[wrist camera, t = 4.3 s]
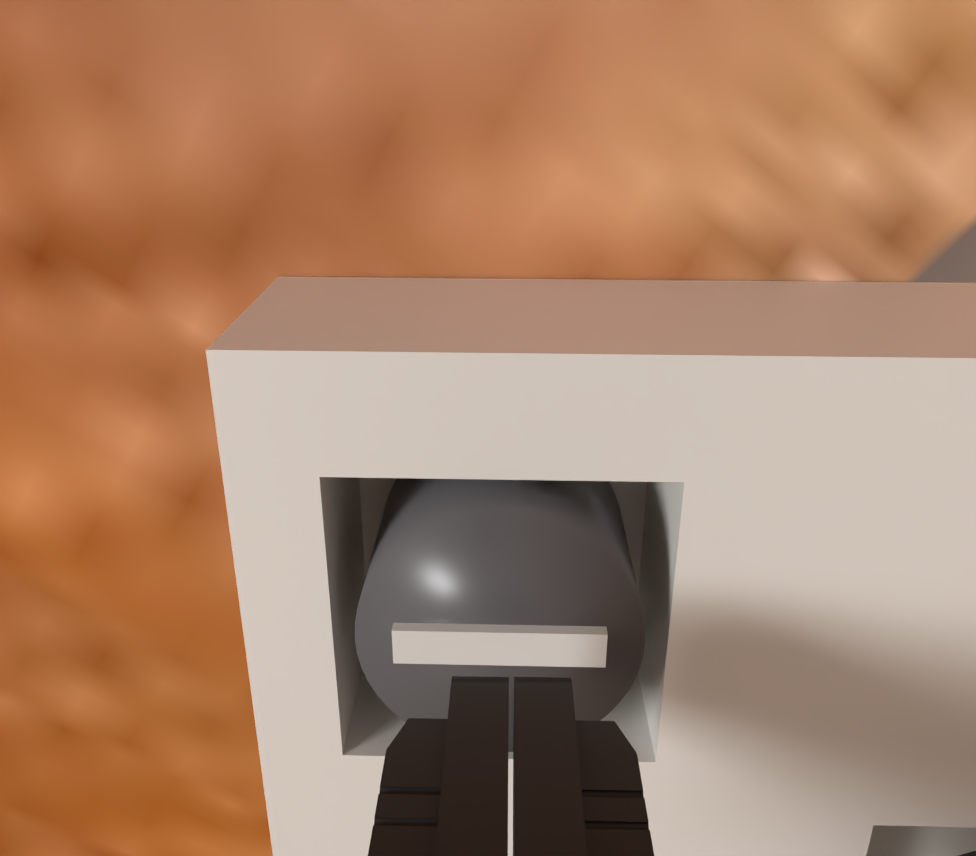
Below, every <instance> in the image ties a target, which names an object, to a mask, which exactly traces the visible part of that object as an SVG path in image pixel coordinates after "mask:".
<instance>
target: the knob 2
mask: <svg viewBox="0 0 976 856" xmlns="http://www.w3.org/2000/svg"><path fill="white" fill-rule="evenodd" d="M958 856H976V851H972V852H969V853H965V854H962V855H958Z"/></svg>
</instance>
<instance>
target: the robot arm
mask: <svg viewBox="0 0 976 856" xmlns="http://www.w3.org/2000/svg"><path fill="white" fill-rule="evenodd" d="M508 735H509V677H503V676H452V680H451V689H450V699H449V710H448V719H431V718H408V720H407V721H406V723H405V724H404V725H403V727H402V728H401V730H400V731H399V732H398V734H397V735H396V737H395V738H394V739H393V741H392V742H391V744H390V745H389V746H388V748H387V749H386V754H385V760H384V765H383V771H382V777H381V783H380V793H379V794H378V800H377V805H376V811H375V817H374V825H373V828H372V834H371V840H370V846H369V851H368V856H508ZM648 823H649V822H648V816H647V810H646V804H645V798H644V797H643V786H642V780H641V774H640V768H639V762H638V756H637V753H636V751H635V750H634V748H633V747H632V745H631V744H630V743H629V741H628V740H627V738H626V737H625V735H624V734H623V732H622V731H621V730H620V728H619V727H618V725H617V724H616V722H615V721H584V720H575V711H574V699H573V688H572V680H571V677H523V676H514V729H513V856H654V851H653V845H652V839H651V833H650V830H649V825H648Z"/></svg>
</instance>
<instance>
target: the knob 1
mask: <svg viewBox="0 0 976 856" xmlns="http://www.w3.org/2000/svg"><path fill="white" fill-rule="evenodd" d="M355 643H356V650H357V655H358V658H359V661H360V665H361V668H362V670H363V672H364V674H365V676H366V678H367V680H368V682H369V684H370V685H371V687H372V688H373V690H374V691H375V693H376V694H377V696H378V697H379V698H380V699H381V700H382V702H383V703H384V704H385V705H386V706H387V707H388V708H389V709H390V710H391V711H392V712H393V713H394V714H396V715H397V716H398V717H399V718H400V719H401V720H403V721H404V722H406V721H407V720H408V718H431V719H448V710H449V699H450V689H451V680H452V676H503V677H509V735H508V752H513V729H514V676H523V677H571V680H572V688H573V699H574V711H575V720H584V721H600V720H602V719H603V718H604V717H605V716H606V715H608V714H609V713H610V712H611V711H612V710H613V709H614V708H615V707H616V706H617V705H618V704H619V703H620V701H621V700H622V699H623V697H624V696H625V695H626V693H627V692H628V690H629V689H630V688H631V686H632V684H633V682H634V680H635V678H636V676H637V674H638V671H639V668H640V665H641V662H642V659H643V654H644V648H645V622H644V616H643V610H642V606H641V601H640V597H639V592H638V588H637V583H636V579H635V574H634V570H633V565H632V561H631V557H630V552H629V548H628V543H627V539H626V534H625V530H624V525H623V521H622V516H621V512H620V507H619V504H618V501H617V498H616V495H615V492H614V490H613V488H612V486H611V484H610V482H609V481H559V480H489V479H419V478H397V479H396V481H395V483H394V485H393V487H392V489H391V490H390V493H389V496H388V499H387V502H386V505H385V509H384V513H383V516H382V520H381V524H380V527H379V531H378V535H377V538H376V542H375V545H374V549H373V553H372V556H371V560H370V564H369V567H368V571H367V574H366V578H365V582H364V585H363V589H362V593H361V596H360V600H359V604H358V607H357V613H356V619H355Z"/></svg>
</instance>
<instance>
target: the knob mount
mask: <svg viewBox="0 0 976 856" xmlns="http://www.w3.org/2000/svg"><path fill="white" fill-rule="evenodd" d="M206 356H207V364H208V371H209V379H210V386H211V394H212V401H213V409H214V416H215V424H216V431H217V439H218V446H219V454H220V461H221V469H222V476H223V484H224V491H225V499H226V506H227V514H228V521H229V529H230V537H231V544H232V552H233V559H234V567H235V574H236V582H237V589H238V597H239V604H240V612H241V619H242V627H243V634H244V642H245V649H246V657H247V664H248V672H249V679H250V687H251V694H252V702H253V709H254V717H255V724H256V732H257V739H258V747H259V755H260V762H261V770H262V777H263V785H264V792H265V800H266V807H267V815H268V822H269V830H270V837H271V845H272V852H273V856H368V851H369V846H370V840H371V834H372V828H373V825H374V817H375V811H376V805H377V800H378V794H379V793H380V783H381V777H382V771H383V765H384V760H385V754H386V749H387V748H388V746H389V745H390V744H391V742H392V741H393V739H394V738H395V737H396V735H397V734H398V732H399V731H400V730H401V728H402V727H403V725H404V724H405V723H406V722H404V721H403V720H401V719H400V718H399V717H398V716H397V715H396V714H394V713H393V712H392V711H391V710H390V709H389V708H388V707H387V706H386V705H385V704H384V703H383V702H382V700H381V699H380V698H379V697H378V696H377V694H376V693H375V691H374V690H373V688H372V687H371V685H370V684H369V682H368V680H367V678H366V676H365V674H364V672H363V670H362V668H361V665H360V661H359V658H358V655H357V650H356V643H355V619H356V613H357V607H358V604H359V600H360V596H361V593H362V589H363V585H364V582H365V578H366V574H367V571H368V567H369V564H370V560H371V556H372V553H373V549H374V545H375V542H376V538H377V535H378V531H379V527H380V524H381V520H382V516H383V513H384V509H385V505H386V502H387V499H388V496H389V493H390V490H391V489H392V487H393V485H394V483H395V481H396V479H397V478H419V479H489V480H559V481H609V482H610V484H611V486H612V488H613V490H614V492H615V495H616V498H617V501H618V504H619V507H620V512H621V516H622V521H623V525H624V530H625V534H626V539H627V543H628V548H629V552H630V557H631V561H632V565H633V570H634V574H635V579H636V583H637V588H638V592H639V597H640V601H641V606H642V610H643V616H644V622H645V648H644V654H643V659H642V662H641V665H640V668H639V671H638V674H637V676H636V678H635V680H634V682H633V684H632V686H631V688H630V689H629V690H628V692H627V693H626V695H625V696H624V697H623V699H622V700H621V701H620V703H619V704H618V705H617V706H616V707H615V708H614V709H613V710H612V711H611V712H610V713H609V714H608V715H606V716H605V717H604V718H603V719H602V720H600V721H615V722H616V724H617V725H618V727H619V728H620V730H621V731H622V732H623V734H624V735H625V737H626V738H627V740H628V741H629V743H630V744H631V745H632V747H633V748H634V750H635V751H636V753H637V756H638V762H639V768H640V774H641V780H642V786H643V797H644V798H645V804H646V810H647V816H648V822H649V823H648V825H649V830H650V833H651V839H652V845H653V851H654V856H958V855H962V854H965V853H969V852H972V851H976V283H937V282H936V283H935V282H929V283H928V282H825V281H713V280H601V279H488V278H376V277H277V278H276V279H275V280H274V281H273V282H272V283H271V284H270V285H269V286H268V287H267V288H266V289H265V290H264V291H263V292H262V293H261V294H260V295H259V296H258V297H257V298H256V299H255V300H254V301H253V302H252V303H251V304H250V306H249V307H248V308H247V309H246V310H245V311H244V312H243V313H242V314H241V315H240V316H239V317H238V318H237V319H236V320H235V321H234V322H233V323H232V324H231V325H230V326H229V327H228V328H227V329H226V330H225V331H224V332H223V333H222V334H221V335H220V336H219V337H218V338H217V339H216V340H215V341H214V342H213V343H212V344H211V345H210V346H209V347H208V348H207V349H206ZM508 856H513V752H508Z"/></svg>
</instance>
